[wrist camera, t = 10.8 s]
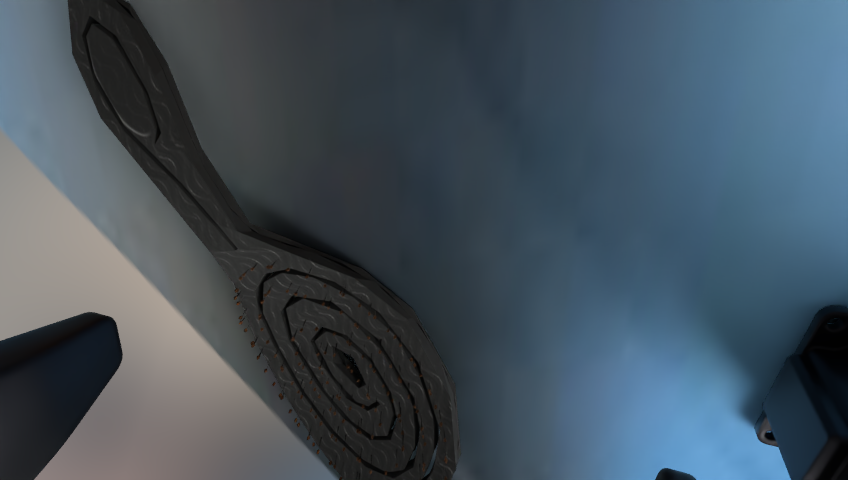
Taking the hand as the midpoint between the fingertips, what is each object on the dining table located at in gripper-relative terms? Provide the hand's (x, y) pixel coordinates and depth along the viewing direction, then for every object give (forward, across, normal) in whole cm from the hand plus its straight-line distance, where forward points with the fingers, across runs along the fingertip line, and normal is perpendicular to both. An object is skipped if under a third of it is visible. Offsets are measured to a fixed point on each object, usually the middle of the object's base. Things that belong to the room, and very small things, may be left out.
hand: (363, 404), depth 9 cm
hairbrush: (+13, +8, +7) cm, 16 cm away
